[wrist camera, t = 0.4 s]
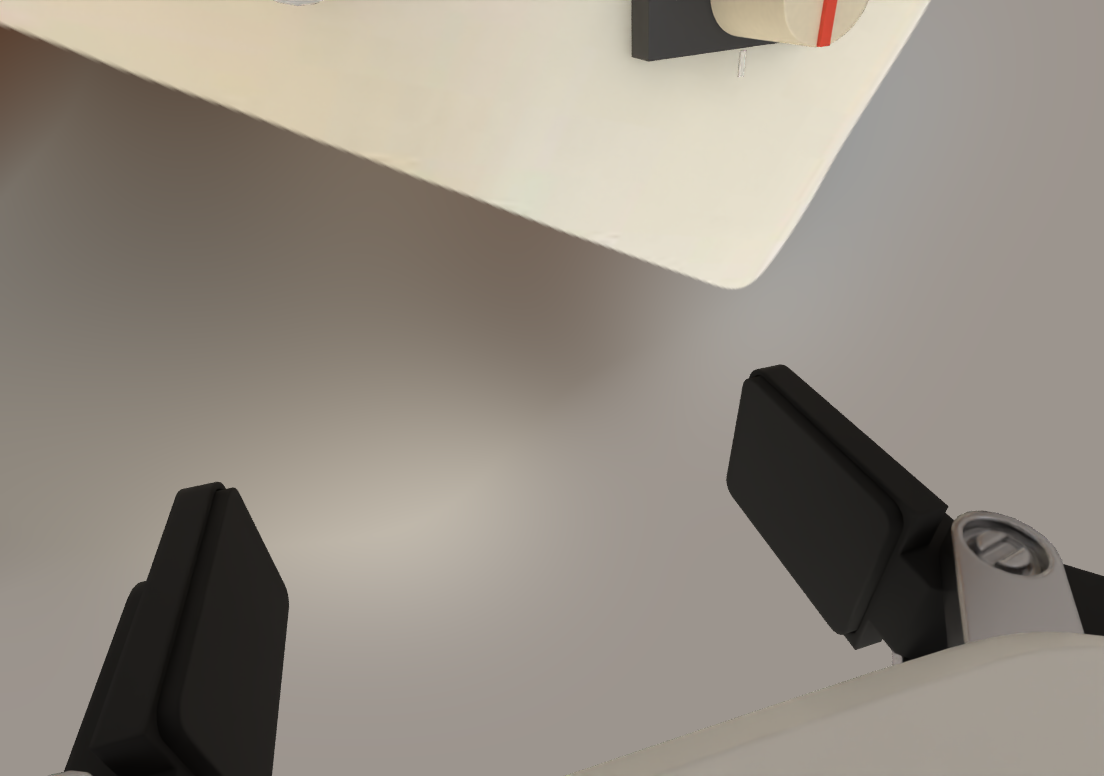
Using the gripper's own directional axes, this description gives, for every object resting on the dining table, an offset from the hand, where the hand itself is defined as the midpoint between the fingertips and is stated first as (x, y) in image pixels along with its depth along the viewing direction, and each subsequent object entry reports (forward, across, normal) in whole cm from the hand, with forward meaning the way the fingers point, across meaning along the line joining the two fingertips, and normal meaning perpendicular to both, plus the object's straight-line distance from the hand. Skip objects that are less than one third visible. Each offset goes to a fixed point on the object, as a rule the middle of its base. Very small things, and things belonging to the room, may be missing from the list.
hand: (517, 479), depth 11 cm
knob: (+27, -20, -7) cm, 34 cm away
